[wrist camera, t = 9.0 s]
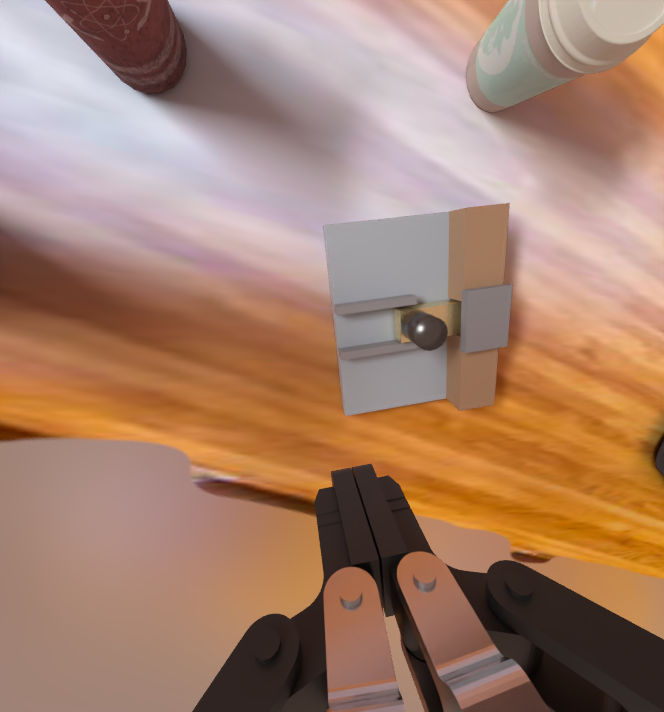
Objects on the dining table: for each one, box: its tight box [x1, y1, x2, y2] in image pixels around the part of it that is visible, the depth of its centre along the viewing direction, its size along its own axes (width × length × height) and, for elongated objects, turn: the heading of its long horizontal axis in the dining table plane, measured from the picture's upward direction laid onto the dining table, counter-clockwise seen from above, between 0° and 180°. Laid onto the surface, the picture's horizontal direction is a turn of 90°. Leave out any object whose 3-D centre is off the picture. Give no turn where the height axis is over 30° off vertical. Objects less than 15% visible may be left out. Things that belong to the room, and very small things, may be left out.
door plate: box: [323, 203, 513, 416], centre depth 31 cm, size 16×20×6 cm
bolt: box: [393, 299, 462, 351], centre depth 30 cm, size 10×3×6 cm, turn 96°
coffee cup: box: [466, 0, 664, 112], centre depth 22 cm, size 9×8×12 cm
